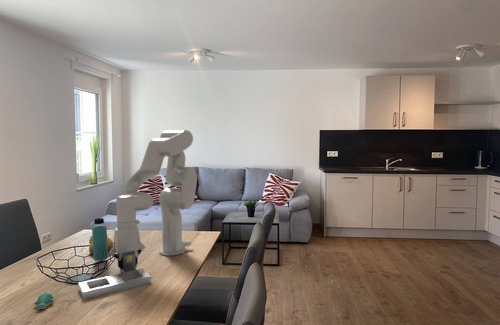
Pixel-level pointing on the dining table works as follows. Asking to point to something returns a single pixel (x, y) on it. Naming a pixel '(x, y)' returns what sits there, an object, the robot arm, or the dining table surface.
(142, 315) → the dining table surface
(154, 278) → the dining table surface
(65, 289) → the dining table surface
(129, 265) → the block
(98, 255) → the beverage bottle
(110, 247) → the bread roll
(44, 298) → the whale figurine
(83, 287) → the rail
